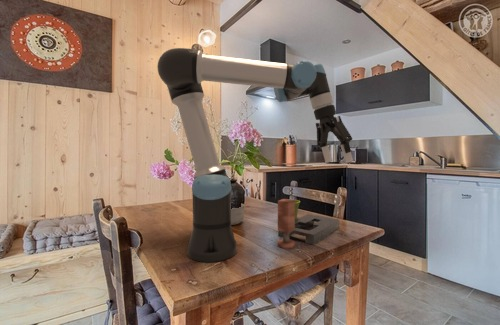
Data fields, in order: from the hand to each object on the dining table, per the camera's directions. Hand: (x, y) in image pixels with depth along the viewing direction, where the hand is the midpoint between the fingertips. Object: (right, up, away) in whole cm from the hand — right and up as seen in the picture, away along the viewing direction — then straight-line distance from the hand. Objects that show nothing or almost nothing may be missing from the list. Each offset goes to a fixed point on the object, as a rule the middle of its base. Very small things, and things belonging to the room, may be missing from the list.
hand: (338, 162), depth 91 cm
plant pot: (-15, -27, +20) cm, 37 cm away
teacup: (-41, -27, +17) cm, 52 cm away
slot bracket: (-10, -27, +3) cm, 29 cm away
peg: (-21, -28, -11) cm, 36 cm away
